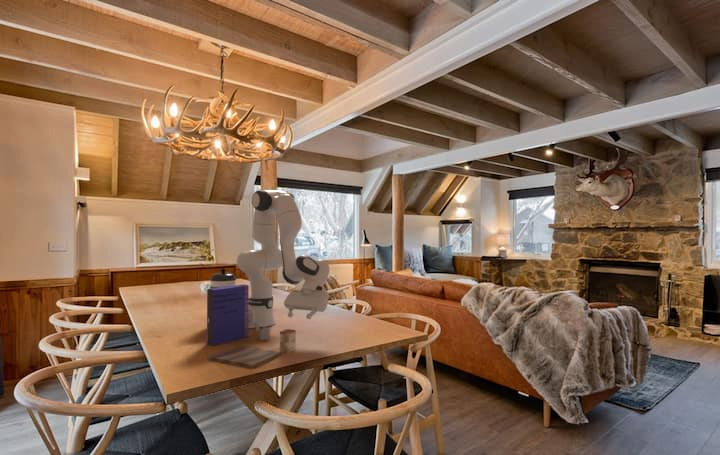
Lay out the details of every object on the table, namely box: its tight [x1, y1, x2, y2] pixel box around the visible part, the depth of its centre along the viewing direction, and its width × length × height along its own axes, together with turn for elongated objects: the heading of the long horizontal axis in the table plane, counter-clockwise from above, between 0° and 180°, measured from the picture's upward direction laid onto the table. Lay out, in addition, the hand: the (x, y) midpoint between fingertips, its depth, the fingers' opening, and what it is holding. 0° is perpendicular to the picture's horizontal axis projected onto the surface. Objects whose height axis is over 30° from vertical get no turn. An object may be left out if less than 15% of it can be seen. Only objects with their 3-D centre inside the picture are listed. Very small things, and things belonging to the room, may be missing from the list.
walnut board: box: [206, 344, 282, 369], centre depth 143 cm, size 22×16×1 cm
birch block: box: [279, 328, 297, 354], centre depth 152 cm, size 4×4×8 cm
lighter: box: [253, 322, 271, 341], centre depth 167 cm, size 7×2×8 cm, turn 103°
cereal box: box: [206, 284, 250, 347], centre depth 165 cm, size 17×5×24 cm, turn 141°
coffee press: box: [209, 267, 237, 289], centre depth 190 cm, size 17×16×30 cm
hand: (298, 317), depth 159 cm, fingers open, 8 cm apart
